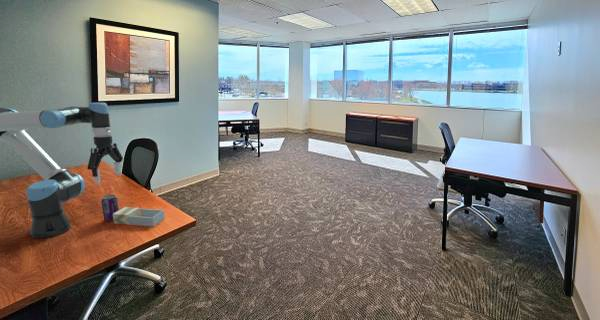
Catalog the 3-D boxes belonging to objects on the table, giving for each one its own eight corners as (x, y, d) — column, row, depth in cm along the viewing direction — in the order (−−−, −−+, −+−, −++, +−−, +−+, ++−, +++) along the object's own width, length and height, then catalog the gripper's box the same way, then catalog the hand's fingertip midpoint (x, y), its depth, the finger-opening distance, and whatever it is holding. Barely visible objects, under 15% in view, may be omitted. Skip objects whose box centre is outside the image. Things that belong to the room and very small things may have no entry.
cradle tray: (129, 224, 159) (128, 216, 157) (141, 216, 168) (140, 208, 167) (153, 226, 156) (152, 217, 155) (164, 218, 166) (164, 210, 165)
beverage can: (122, 218, 165) (119, 196, 162) (107, 223, 160) (103, 200, 157) (117, 215, 170) (114, 193, 167) (102, 219, 165) (98, 197, 162)
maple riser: (114, 223, 160) (112, 213, 159) (126, 215, 169) (125, 206, 167) (128, 224, 159) (127, 214, 158) (140, 216, 167) (139, 207, 166)
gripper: (88, 140, 142) (95, 187, 147) (127, 132, 165) (132, 172, 171) (73, 140, 143) (80, 186, 148) (114, 131, 167) (119, 171, 172)
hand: (108, 178), depth 159 cm, fingers open, 13 cm apart
